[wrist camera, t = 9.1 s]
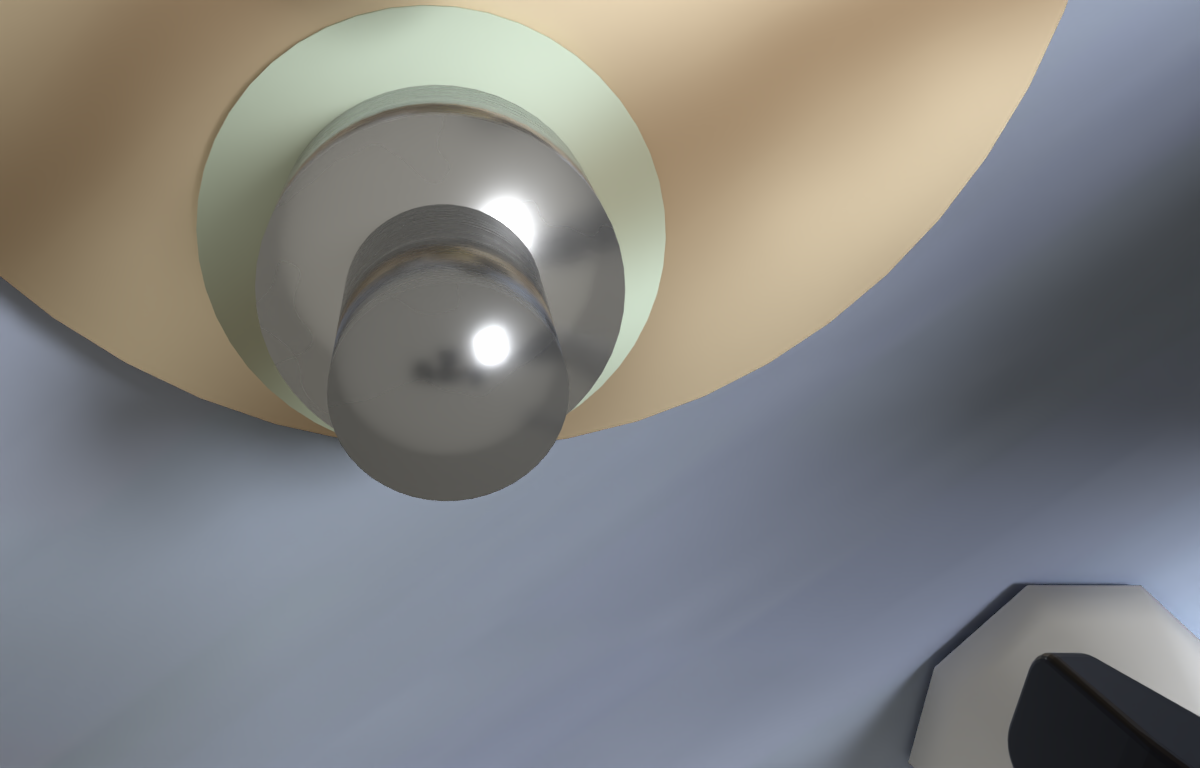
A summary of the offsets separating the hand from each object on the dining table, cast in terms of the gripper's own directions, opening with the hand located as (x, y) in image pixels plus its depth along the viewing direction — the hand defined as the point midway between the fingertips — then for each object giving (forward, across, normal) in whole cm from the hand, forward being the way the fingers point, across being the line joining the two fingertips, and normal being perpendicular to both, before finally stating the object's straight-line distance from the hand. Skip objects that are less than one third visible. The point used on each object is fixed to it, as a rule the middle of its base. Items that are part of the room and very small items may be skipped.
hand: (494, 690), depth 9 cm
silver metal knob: (+12, 0, 0) cm, 12 cm away
